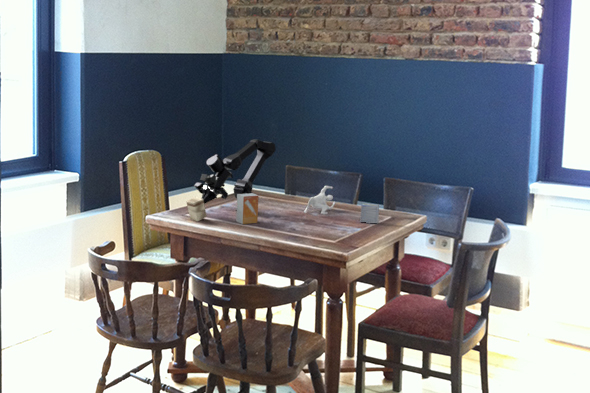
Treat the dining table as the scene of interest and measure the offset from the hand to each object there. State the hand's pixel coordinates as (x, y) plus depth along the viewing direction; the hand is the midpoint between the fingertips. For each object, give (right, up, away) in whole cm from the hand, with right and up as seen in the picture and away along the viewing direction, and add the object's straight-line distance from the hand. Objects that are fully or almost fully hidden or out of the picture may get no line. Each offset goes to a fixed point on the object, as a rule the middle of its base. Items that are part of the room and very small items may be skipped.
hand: (200, 204), depth 305 cm
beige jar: (-1, -6, 0) cm, 6 cm away
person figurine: (+56, -4, +30) cm, 64 cm away
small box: (+21, -8, -1) cm, 23 cm away
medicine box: (+79, -9, +8) cm, 80 cm away
